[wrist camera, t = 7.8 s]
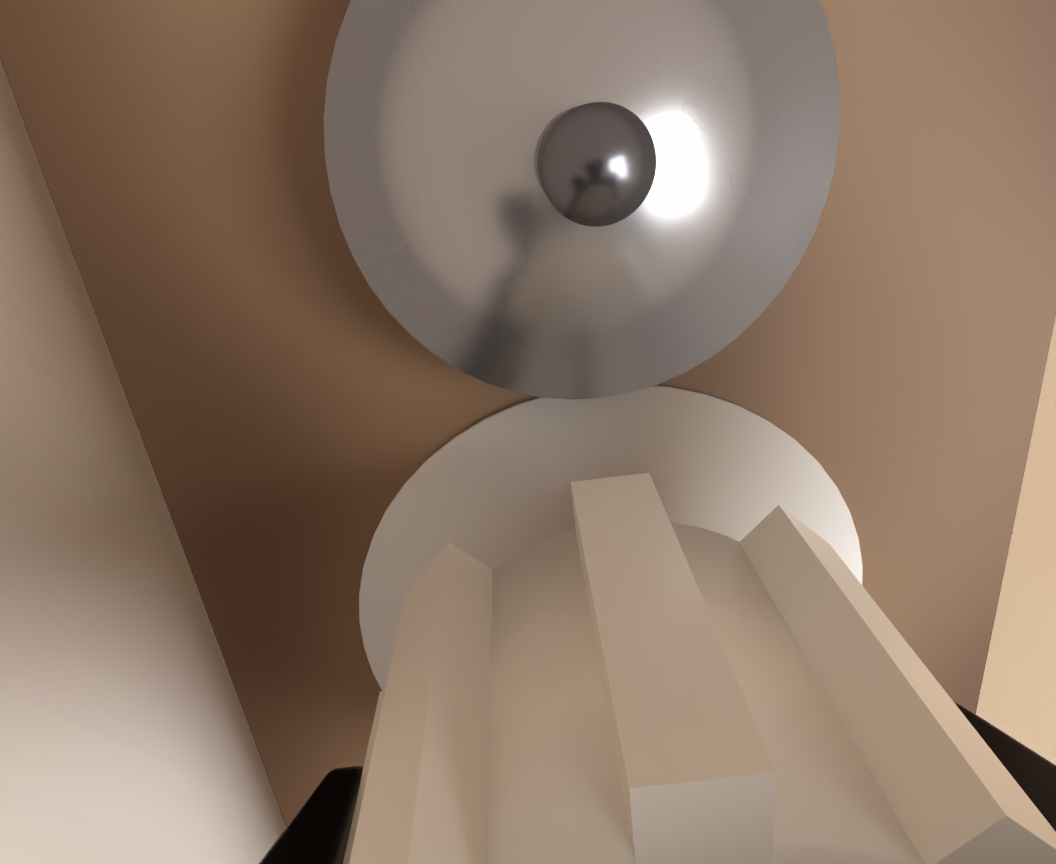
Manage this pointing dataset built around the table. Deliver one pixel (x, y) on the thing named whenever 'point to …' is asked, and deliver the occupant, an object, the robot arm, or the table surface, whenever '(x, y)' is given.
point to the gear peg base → (580, 176)
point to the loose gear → (672, 710)
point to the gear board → (524, 420)
